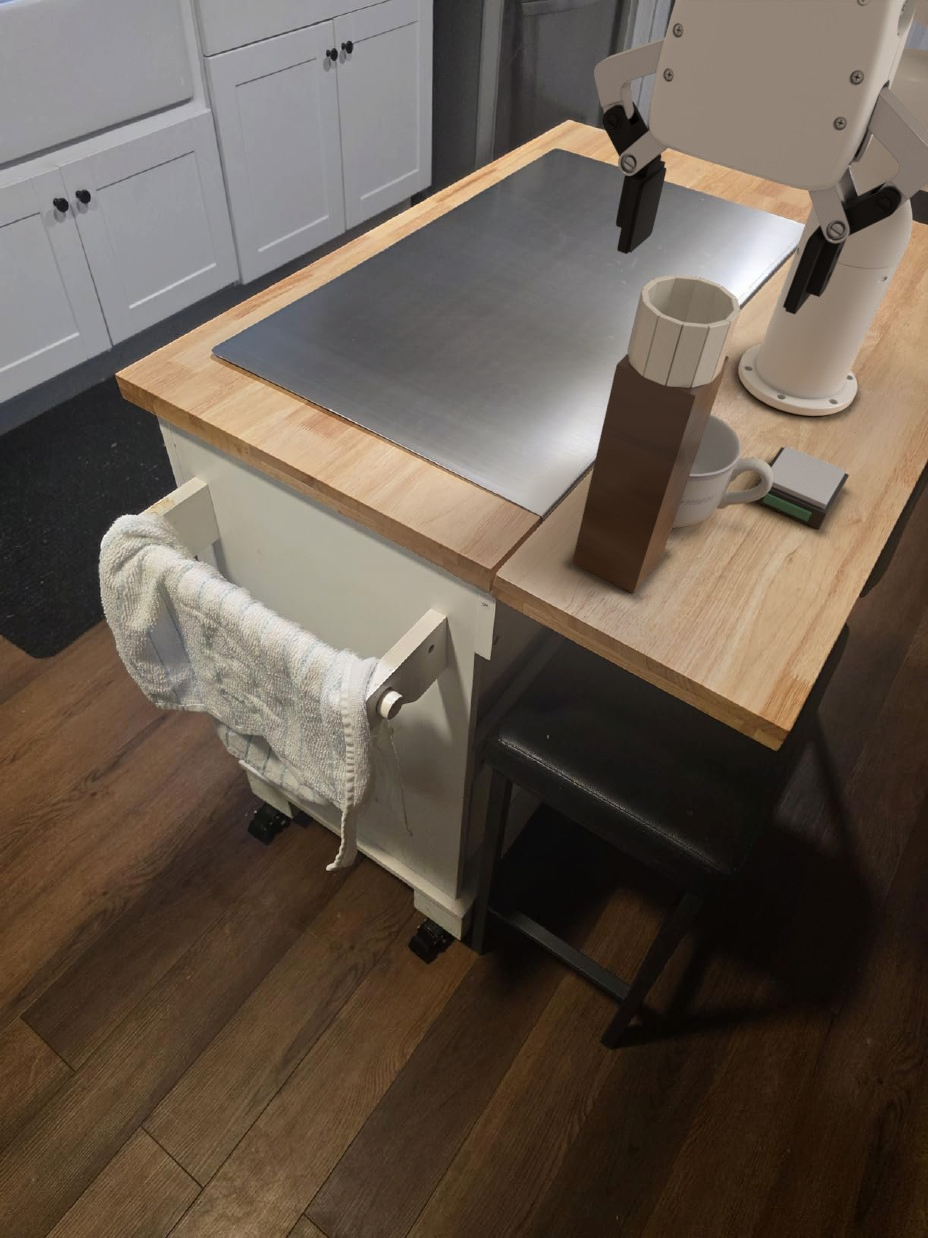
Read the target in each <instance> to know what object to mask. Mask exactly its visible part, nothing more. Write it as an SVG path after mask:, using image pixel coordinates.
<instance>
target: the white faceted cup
mask: <svg viewBox="0 0 928 1238" xmlns="http://www.w3.org/2000/svg"><path fill="white" fill-rule="evenodd" d="M740 315H741V307H740V303H739V299H738V298H737V296H736V295H735V294H734V293H732V292H731V291H729V290H728V289H727V288H726V287H724V285H721V284H719V283H717V282H715V281H711V280H709V279H706V278H703V277H700V276H699V277H698V276H696V275H695V276H694V275H684V274H669V275H668V274H667V275H664V276H658V277H656V278H655V277H654V278H653V279H651V280H650V281H648V283H647V284H645V285H644V286H643V287H642V288H641V291H640V294H639V299H638V302H637V307H636V312H635V315H634V320H633V325H632V328H631V332H630V337H629V341H628V345H627V354H628V359H629V363H630V365H631V366H632V367H633V368H635V369H636V370H637V371H638V372H639V373H640V374H641V375H642V376H644V377H645V378H647V379H650V380H652V381H655V382H657V383H659V384H662V385H667V386H671V387H683V388H690V387H691V388H693V387H697V386H701V385H704V384H708V383H710V382H712V381H713V380H714V379H715V378H716V376H717V375H718V374H719V373H720V372H721V369H722V366H723V363H724V360H725V357H726V356H727V354H728V350H729V348H730V345H731V341H732V339H733V335H734V333H735V329H736V326H737V323H738V321H739V317H740Z"/></svg>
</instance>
